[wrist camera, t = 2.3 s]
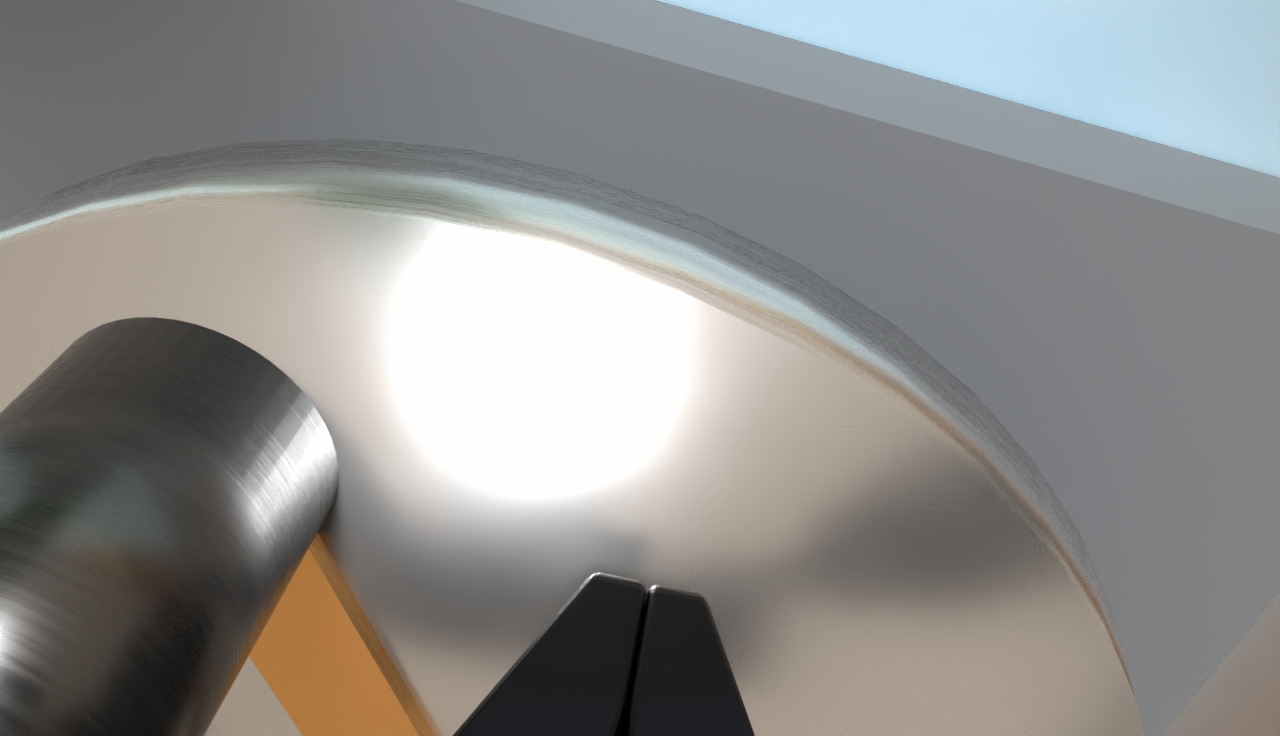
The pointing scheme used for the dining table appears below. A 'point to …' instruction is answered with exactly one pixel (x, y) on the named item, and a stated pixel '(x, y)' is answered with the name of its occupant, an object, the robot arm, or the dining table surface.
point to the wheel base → (794, 228)
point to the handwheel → (491, 461)
